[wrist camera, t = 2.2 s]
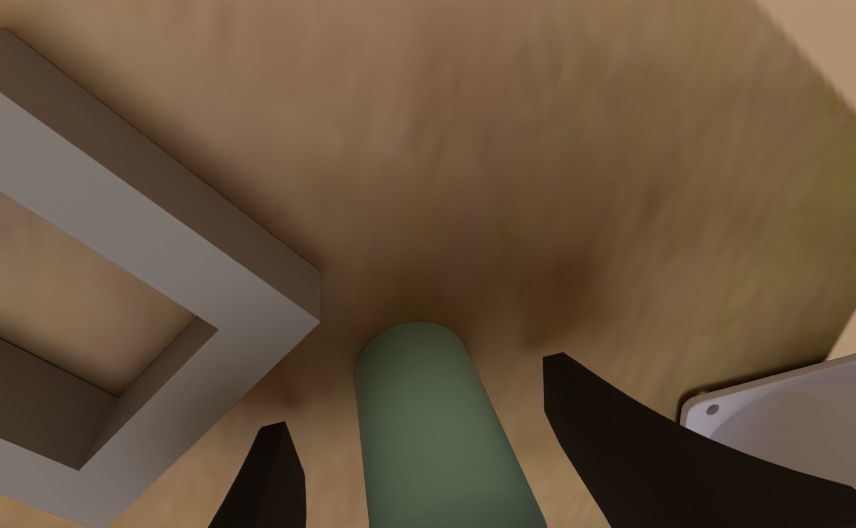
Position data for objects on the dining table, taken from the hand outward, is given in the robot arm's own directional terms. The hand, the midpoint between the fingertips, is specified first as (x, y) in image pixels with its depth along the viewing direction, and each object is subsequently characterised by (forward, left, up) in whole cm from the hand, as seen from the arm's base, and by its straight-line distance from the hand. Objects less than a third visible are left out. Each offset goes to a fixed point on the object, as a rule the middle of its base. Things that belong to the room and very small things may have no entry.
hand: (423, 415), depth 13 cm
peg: (0, 0, -2) cm, 2 cm away
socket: (+7, -5, -2) cm, 9 cm away
